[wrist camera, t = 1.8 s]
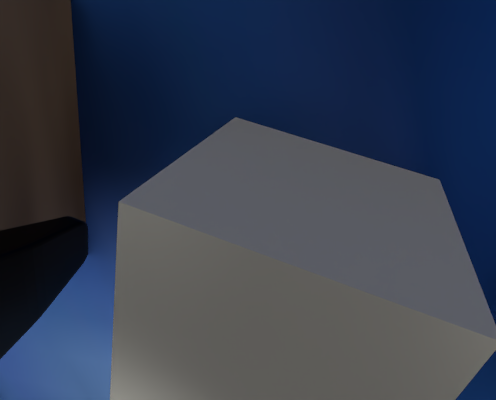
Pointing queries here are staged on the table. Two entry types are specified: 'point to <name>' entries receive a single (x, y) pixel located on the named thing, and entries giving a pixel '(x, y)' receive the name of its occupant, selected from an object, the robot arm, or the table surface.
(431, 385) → the cream cube
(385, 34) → the table surface
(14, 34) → the walnut block
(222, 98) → the table surface
